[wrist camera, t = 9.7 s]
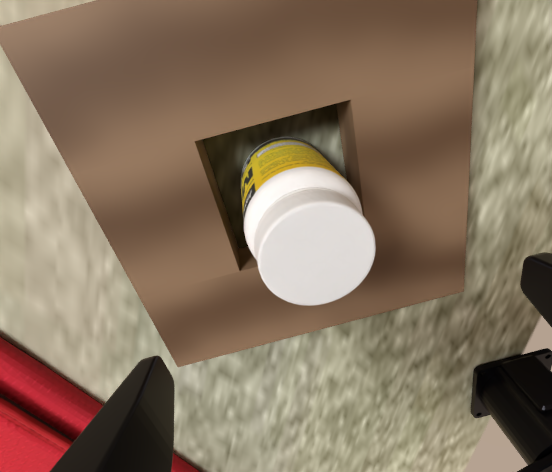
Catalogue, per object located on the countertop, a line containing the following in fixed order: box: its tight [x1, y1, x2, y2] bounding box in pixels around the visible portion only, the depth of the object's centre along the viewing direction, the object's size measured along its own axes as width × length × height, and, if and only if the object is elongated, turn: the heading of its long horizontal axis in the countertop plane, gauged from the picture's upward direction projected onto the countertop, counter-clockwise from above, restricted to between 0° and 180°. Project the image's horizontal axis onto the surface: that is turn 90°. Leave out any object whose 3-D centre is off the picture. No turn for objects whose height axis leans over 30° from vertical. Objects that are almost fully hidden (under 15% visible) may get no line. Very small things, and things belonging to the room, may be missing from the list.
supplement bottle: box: [241, 137, 376, 306], centre depth 15 cm, size 5×5×8 cm
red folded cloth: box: [0, 337, 199, 472], centre depth 25 cm, size 16×41×4 cm, turn 31°
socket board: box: [0, 0, 477, 367], centre depth 17 cm, size 18×18×2 cm
